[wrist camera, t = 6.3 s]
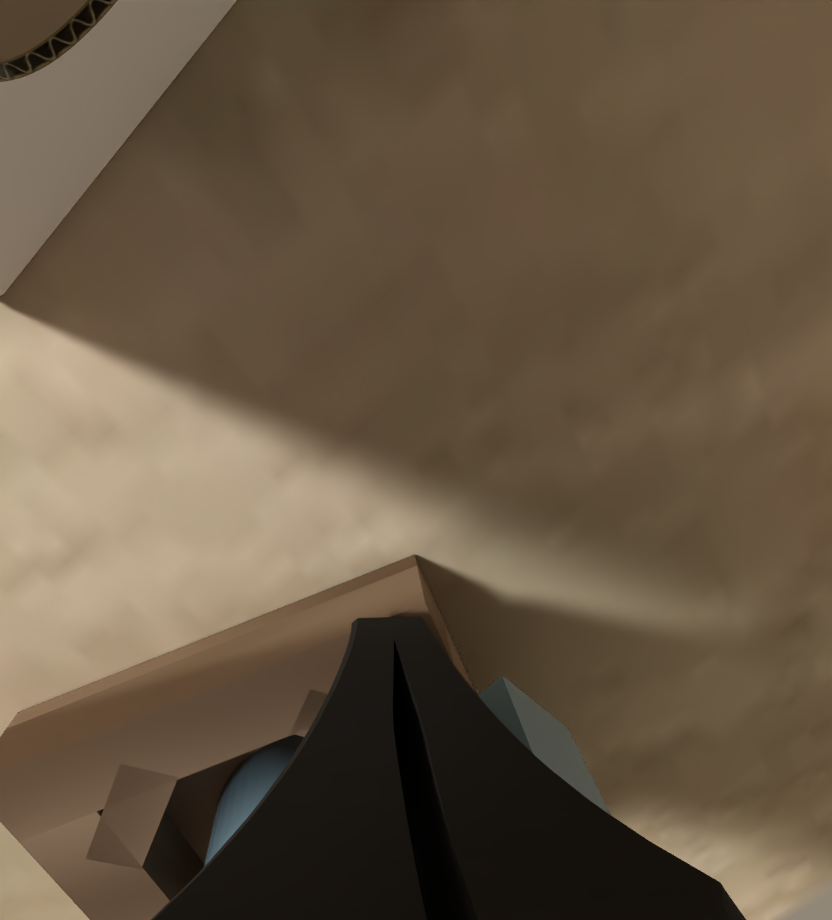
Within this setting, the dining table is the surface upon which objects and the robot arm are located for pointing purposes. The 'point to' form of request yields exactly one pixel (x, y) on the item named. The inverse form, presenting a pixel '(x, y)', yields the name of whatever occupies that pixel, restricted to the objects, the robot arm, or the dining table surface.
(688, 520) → the dining table surface
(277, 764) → the light blue piece
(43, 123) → the gable box
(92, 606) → the dining table surface
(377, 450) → the dining table surface
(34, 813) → the holder
